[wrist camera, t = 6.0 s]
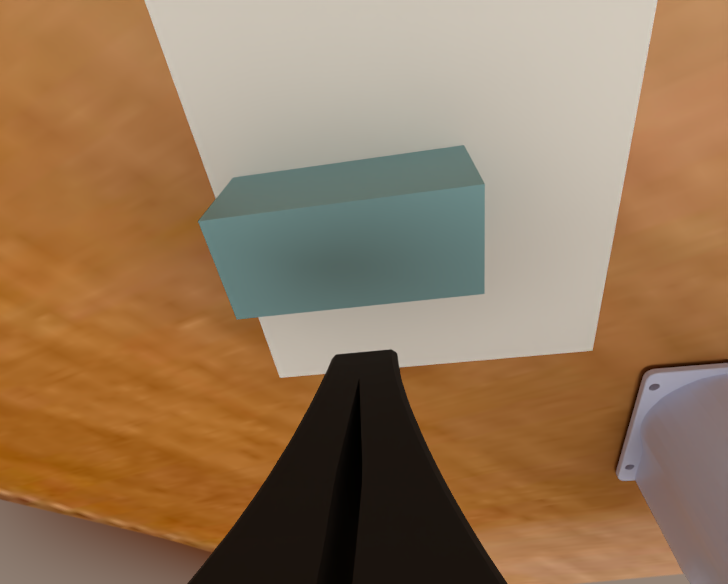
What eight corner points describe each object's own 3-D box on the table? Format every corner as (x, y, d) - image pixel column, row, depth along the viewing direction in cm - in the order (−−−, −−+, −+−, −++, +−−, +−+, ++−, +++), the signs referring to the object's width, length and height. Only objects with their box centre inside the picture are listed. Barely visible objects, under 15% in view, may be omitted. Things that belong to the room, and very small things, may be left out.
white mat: (587, 342, 22) (592, 350, 22) (282, 369, 24) (279, 377, 24) (672, -144, 12) (684, -149, 12) (140, -36, 14) (131, -37, 14)
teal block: (484, 294, 15) (236, 319, 16) (466, 240, 19) (261, 263, 20) (484, 183, 13) (198, 221, 14) (464, 144, 16) (232, 177, 17)
